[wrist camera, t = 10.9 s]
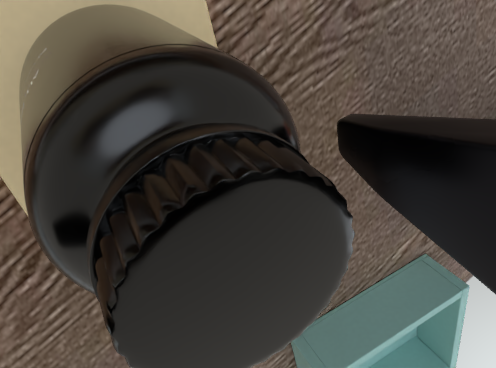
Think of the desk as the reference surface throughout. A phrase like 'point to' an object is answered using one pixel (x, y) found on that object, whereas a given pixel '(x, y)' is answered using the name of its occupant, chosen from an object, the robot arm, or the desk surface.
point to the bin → (391, 323)
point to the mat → (27, 31)
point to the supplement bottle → (175, 191)
